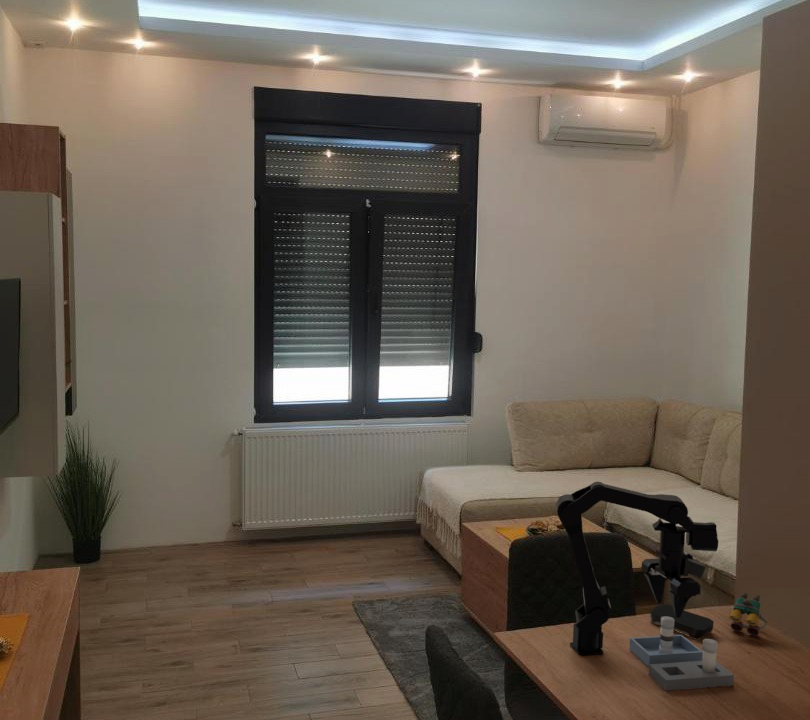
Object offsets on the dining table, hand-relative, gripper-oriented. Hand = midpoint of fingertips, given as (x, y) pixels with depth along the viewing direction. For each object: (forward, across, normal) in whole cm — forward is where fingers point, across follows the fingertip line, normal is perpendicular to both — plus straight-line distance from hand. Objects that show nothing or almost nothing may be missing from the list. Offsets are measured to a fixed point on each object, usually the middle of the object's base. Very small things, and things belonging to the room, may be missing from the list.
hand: (668, 610), depth 209 cm
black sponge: (+12, +16, -13) cm, 24 cm away
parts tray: (+12, 0, 0) cm, 12 cm away
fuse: (+12, -12, -4) cm, 18 cm away
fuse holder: (+12, -12, +1) cm, 17 cm away
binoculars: (+12, +10, -29) cm, 33 cm away
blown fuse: (+11, 0, 0) cm, 11 cm away
